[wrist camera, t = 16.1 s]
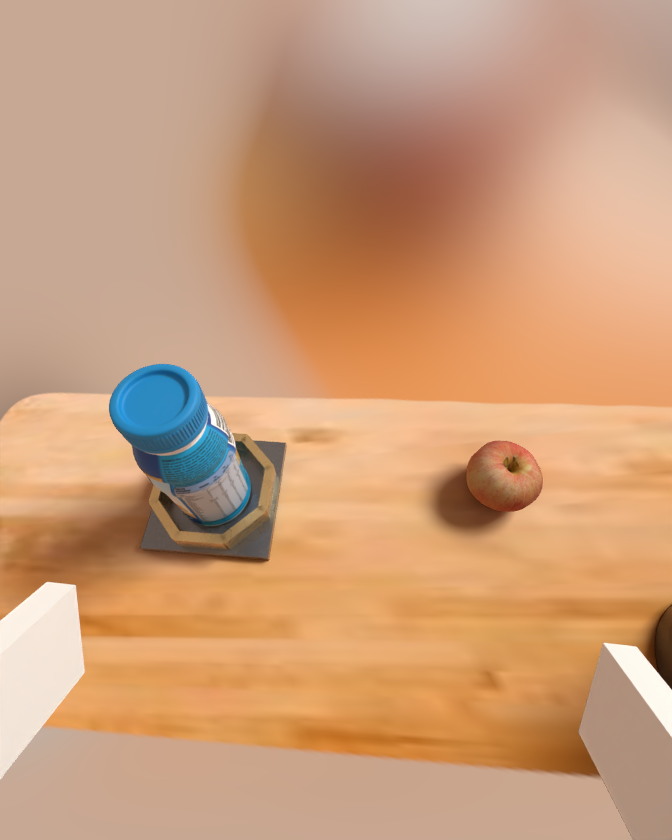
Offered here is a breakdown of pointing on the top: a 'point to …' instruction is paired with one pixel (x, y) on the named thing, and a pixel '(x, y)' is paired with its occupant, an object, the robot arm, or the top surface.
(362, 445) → the top surface
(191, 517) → the beverage bottle
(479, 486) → the apple
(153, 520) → the flange base
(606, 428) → the top surface
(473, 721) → the top surface
